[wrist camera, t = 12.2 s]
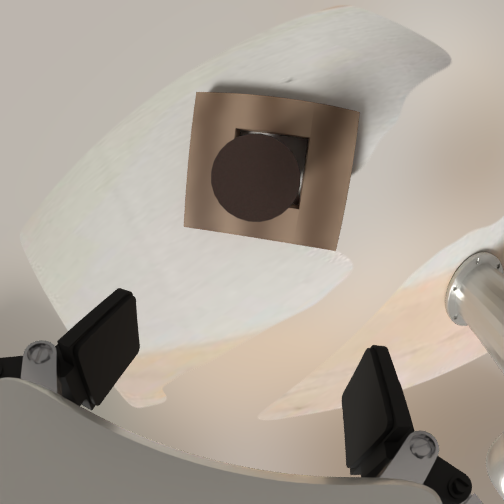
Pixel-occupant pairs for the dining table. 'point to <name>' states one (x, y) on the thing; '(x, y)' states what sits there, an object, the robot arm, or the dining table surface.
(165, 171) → the dining table surface
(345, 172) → the socket board
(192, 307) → the dining table surface
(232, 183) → the deodorant
